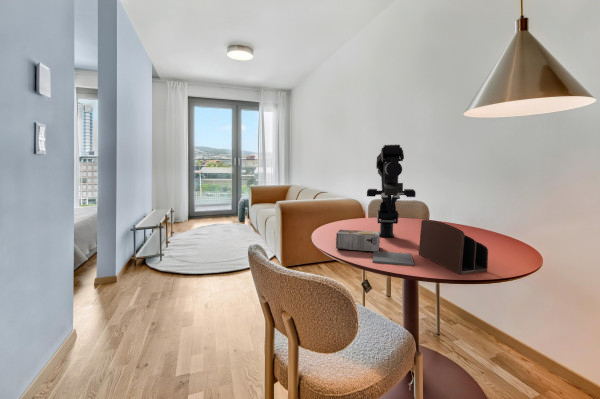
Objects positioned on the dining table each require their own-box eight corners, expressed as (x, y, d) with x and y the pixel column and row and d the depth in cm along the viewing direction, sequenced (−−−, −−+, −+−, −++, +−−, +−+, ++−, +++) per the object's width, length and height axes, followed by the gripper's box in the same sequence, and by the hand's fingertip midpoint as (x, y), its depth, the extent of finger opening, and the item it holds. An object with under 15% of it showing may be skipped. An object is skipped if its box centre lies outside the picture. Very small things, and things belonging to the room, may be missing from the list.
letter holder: (459, 275, 84) (462, 229, 82) (418, 255, 103) (419, 217, 101) (487, 272, 86) (491, 227, 84) (442, 252, 105) (443, 215, 103)
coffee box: (379, 247, 113) (340, 244, 118) (380, 231, 113) (340, 229, 118) (378, 252, 104) (335, 248, 109) (378, 235, 104) (335, 232, 109)
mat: (373, 252, 106) (373, 251, 106) (410, 255, 102) (410, 253, 102) (372, 262, 95) (372, 260, 95) (413, 265, 92) (413, 263, 92)
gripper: (366, 176, 110) (365, 216, 112) (417, 176, 105) (416, 217, 107) (367, 175, 120) (367, 211, 122) (414, 175, 115) (413, 213, 117)
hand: (390, 213), depth 117 cm, fingers closed
